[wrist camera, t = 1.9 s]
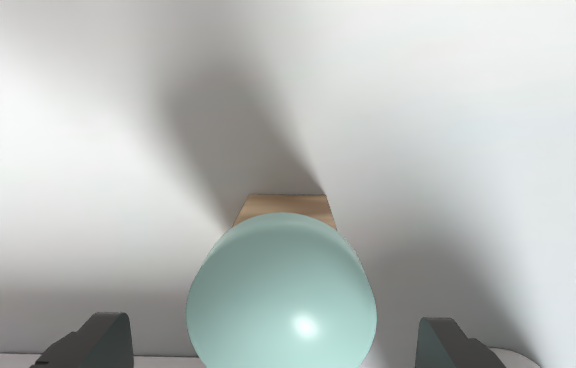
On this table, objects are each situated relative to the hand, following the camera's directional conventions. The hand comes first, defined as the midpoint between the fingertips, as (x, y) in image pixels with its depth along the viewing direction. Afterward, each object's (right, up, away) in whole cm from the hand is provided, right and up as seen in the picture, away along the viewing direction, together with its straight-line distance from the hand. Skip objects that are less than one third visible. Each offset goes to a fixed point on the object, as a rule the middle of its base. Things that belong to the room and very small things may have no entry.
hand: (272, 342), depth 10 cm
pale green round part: (0, 0, +3) cm, 3 cm away
